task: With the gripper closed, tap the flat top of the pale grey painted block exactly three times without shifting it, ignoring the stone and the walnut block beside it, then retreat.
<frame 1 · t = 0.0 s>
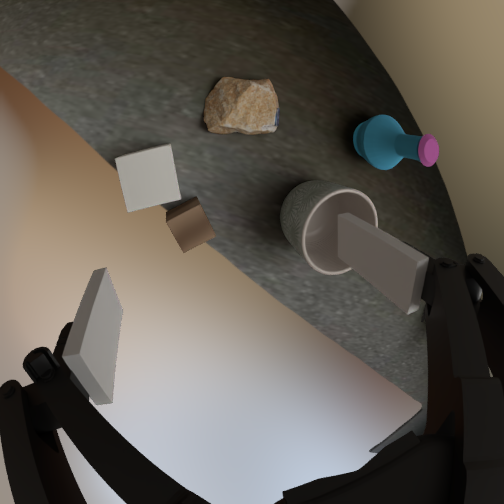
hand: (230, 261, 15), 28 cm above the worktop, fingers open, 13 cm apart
stone: (238, 107, 38), on the worktop
planter: (307, 211, 48), on the worktop
perfume bottle: (367, 139, 45), on the worktop
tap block: (150, 172, 38), on the worktop
walnut block: (188, 218, 42), on the worktop
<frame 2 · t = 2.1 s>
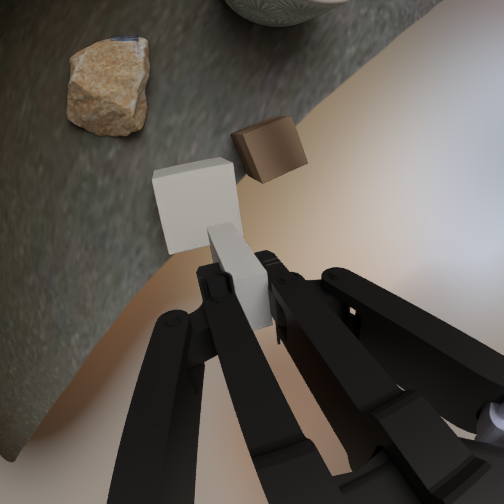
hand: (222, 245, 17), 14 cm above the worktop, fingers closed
stone: (111, 89, 23), on the worktop
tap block: (192, 195, 30), on the worktop
walnut block: (260, 146, 30), on the worktop
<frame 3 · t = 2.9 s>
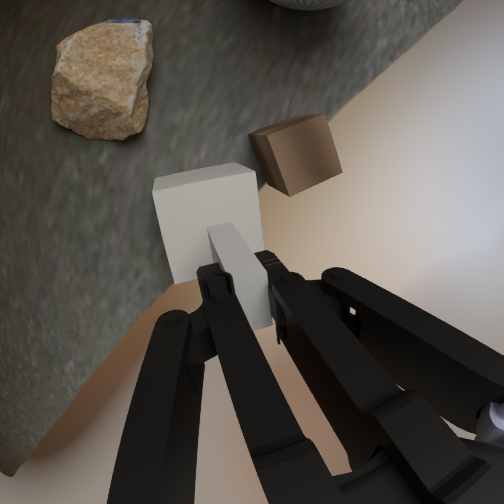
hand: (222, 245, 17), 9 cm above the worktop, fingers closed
stone: (106, 83, 19), on the worktop
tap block: (202, 208, 25), on the worktop
walnut block: (282, 149, 25), on the worktop
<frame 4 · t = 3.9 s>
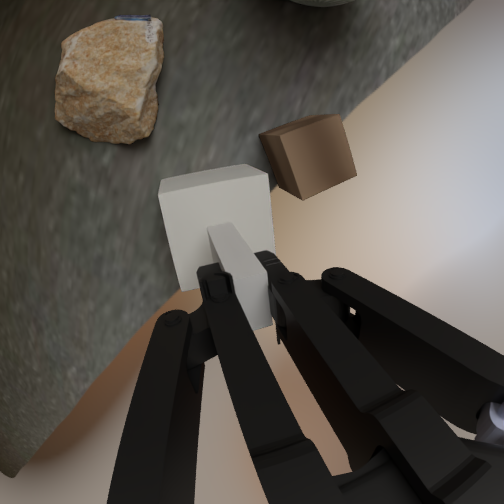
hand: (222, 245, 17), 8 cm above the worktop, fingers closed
stone: (112, 83, 18), on the worktop
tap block: (210, 211, 24), on the worktop
walnut block: (294, 150, 24), on the worktop
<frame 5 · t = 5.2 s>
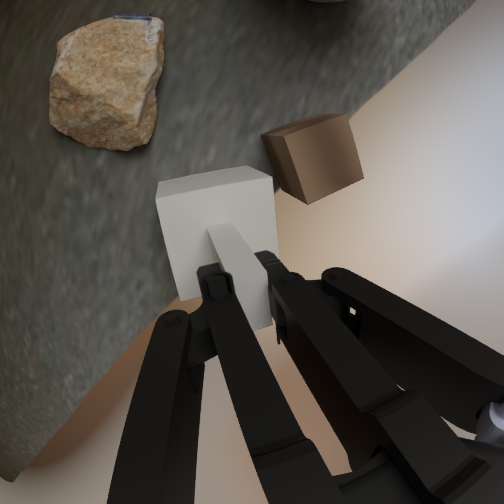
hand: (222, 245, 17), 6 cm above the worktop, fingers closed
stone: (110, 86, 17), on the worktop
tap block: (209, 215, 23), on the worktop
walnut block: (297, 151, 23), on the worktop
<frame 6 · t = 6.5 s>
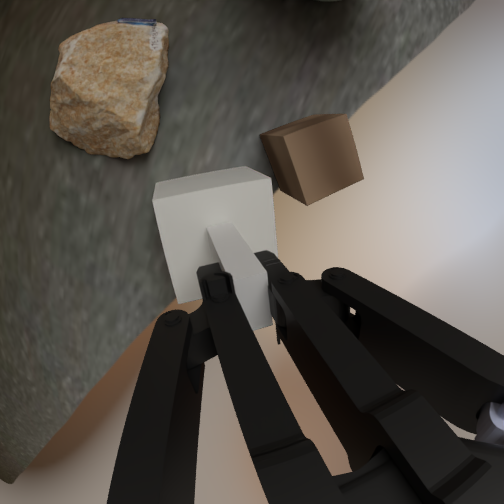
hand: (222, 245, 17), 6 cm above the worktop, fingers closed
stone: (112, 91, 17), on the worktop
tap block: (207, 216, 23), on the worktop
walnut block: (296, 151, 23), on the worktop
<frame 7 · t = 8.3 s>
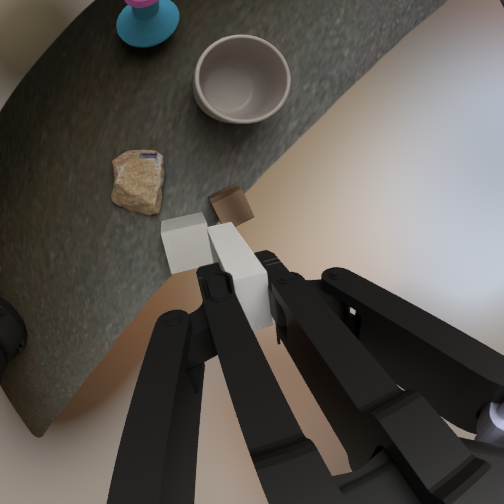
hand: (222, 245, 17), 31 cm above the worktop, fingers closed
stone: (139, 182, 43), on the worktop
planter: (227, 89, 41), on the worktop
perfume bottle: (149, 30, 33), on the worktop
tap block: (185, 235, 49), on the worktop
walnut block: (227, 202, 49), on the worktop
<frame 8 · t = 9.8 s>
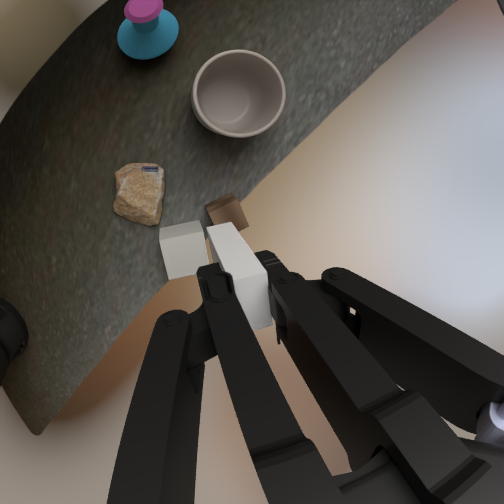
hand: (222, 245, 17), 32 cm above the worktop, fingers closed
stone: (140, 193, 45), on the worktop
planter: (224, 100, 43), on the worktop
perfume bottle: (149, 41, 35), on the worktop
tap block: (183, 242, 51), on the worktop
walnut block: (223, 211, 51), on the worktop
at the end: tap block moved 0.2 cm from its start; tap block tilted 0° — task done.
